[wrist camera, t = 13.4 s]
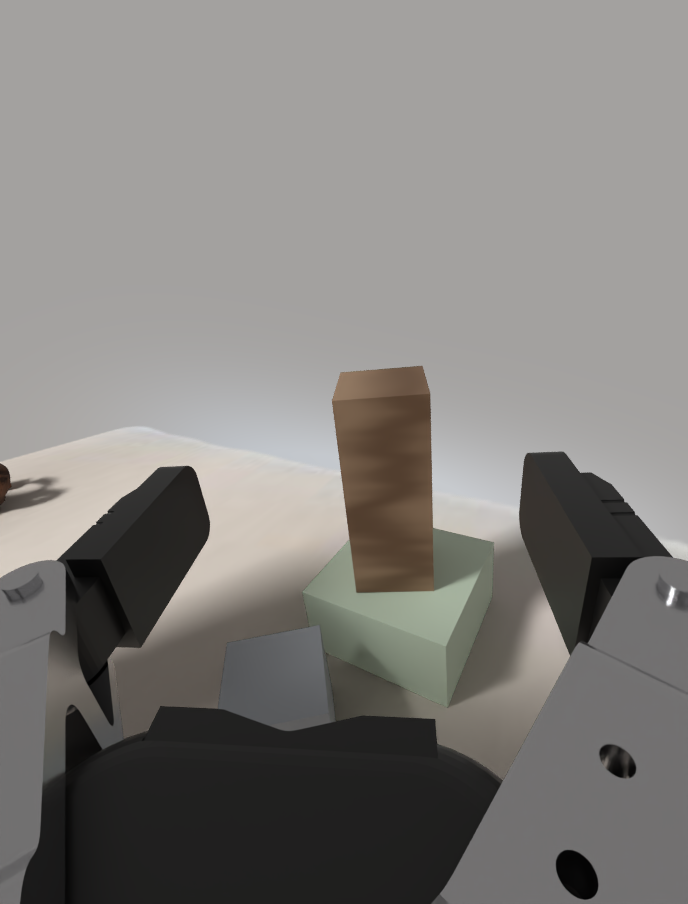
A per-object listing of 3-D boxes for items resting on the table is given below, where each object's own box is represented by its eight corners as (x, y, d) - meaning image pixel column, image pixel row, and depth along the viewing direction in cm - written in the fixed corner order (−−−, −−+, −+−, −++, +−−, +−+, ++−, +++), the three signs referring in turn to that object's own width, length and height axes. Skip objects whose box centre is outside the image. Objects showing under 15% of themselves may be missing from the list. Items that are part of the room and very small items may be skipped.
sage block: (314, 650, 28) (302, 592, 26) (378, 565, 35) (372, 513, 33) (447, 711, 24) (445, 646, 21) (492, 600, 30) (494, 542, 28)
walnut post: (356, 592, 25) (331, 401, 20) (359, 543, 29) (340, 372, 24) (433, 591, 25) (430, 393, 20) (427, 541, 29) (422, 365, 24)
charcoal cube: (239, 801, 21) (213, 736, 19) (247, 703, 25) (227, 642, 23) (342, 779, 21) (328, 713, 19) (331, 686, 26) (319, 624, 23)
